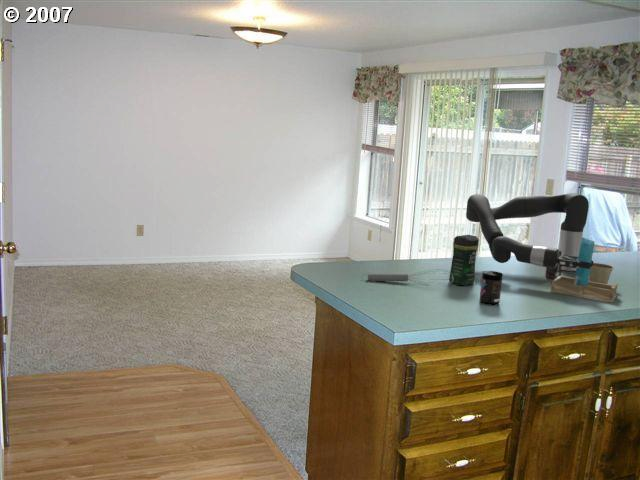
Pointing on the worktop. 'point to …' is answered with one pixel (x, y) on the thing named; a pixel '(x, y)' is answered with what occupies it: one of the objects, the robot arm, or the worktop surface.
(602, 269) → the flower pot
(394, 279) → the kitchen whisk
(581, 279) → the tube
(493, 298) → the supplement container
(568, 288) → the keyhole tray
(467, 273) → the coffee jar
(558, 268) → the supplement bottle
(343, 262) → the worktop surface
